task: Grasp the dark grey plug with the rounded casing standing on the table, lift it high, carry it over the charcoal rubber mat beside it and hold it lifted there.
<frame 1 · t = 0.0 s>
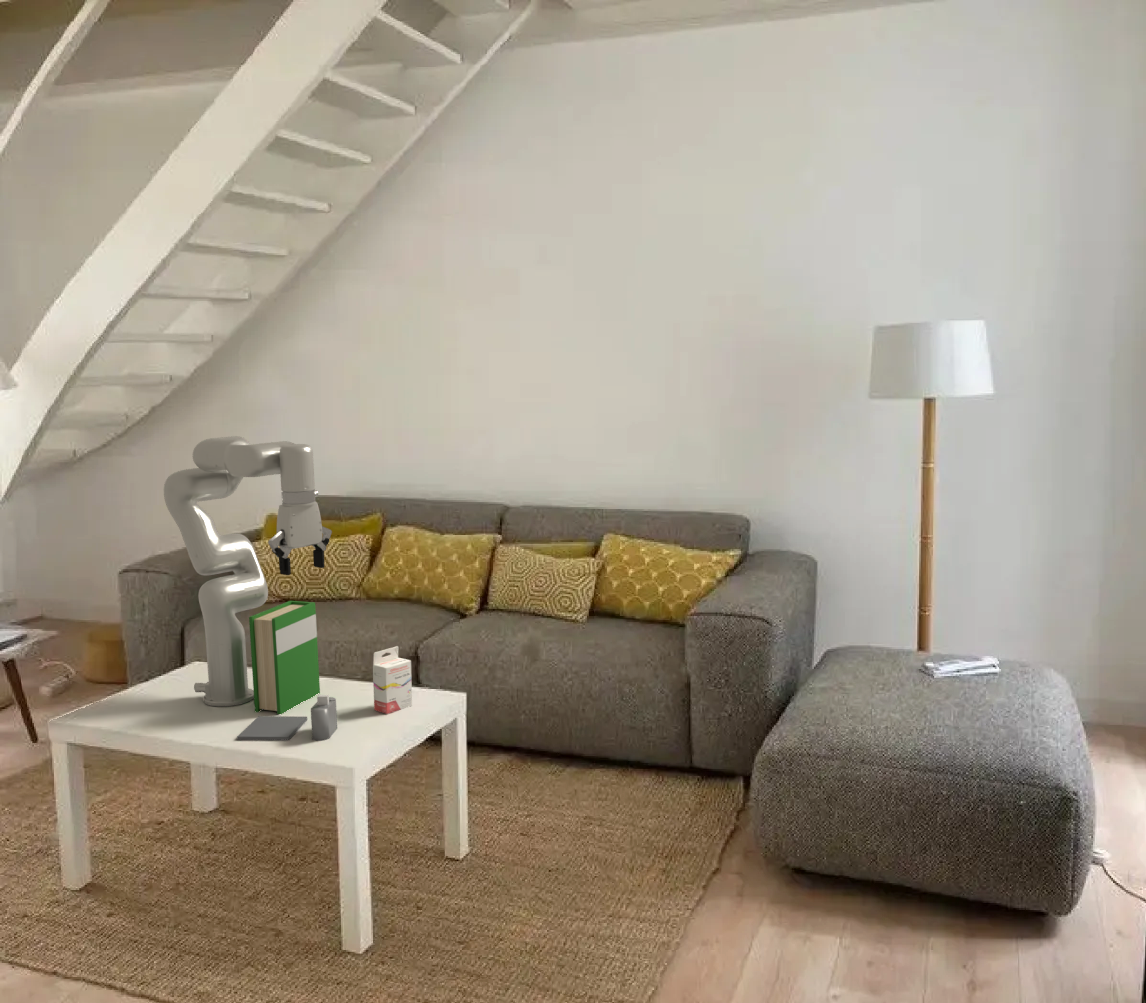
hand: (302, 570, 266), 37 cm above the table, tool pointing down, fingers open, 9 cm apart
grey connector: (324, 733, 265), on the table
ink cartridge box: (393, 709, 282), on the table
charcoal mat: (273, 729, 268), on the table
hardback book: (288, 703, 288), on the table
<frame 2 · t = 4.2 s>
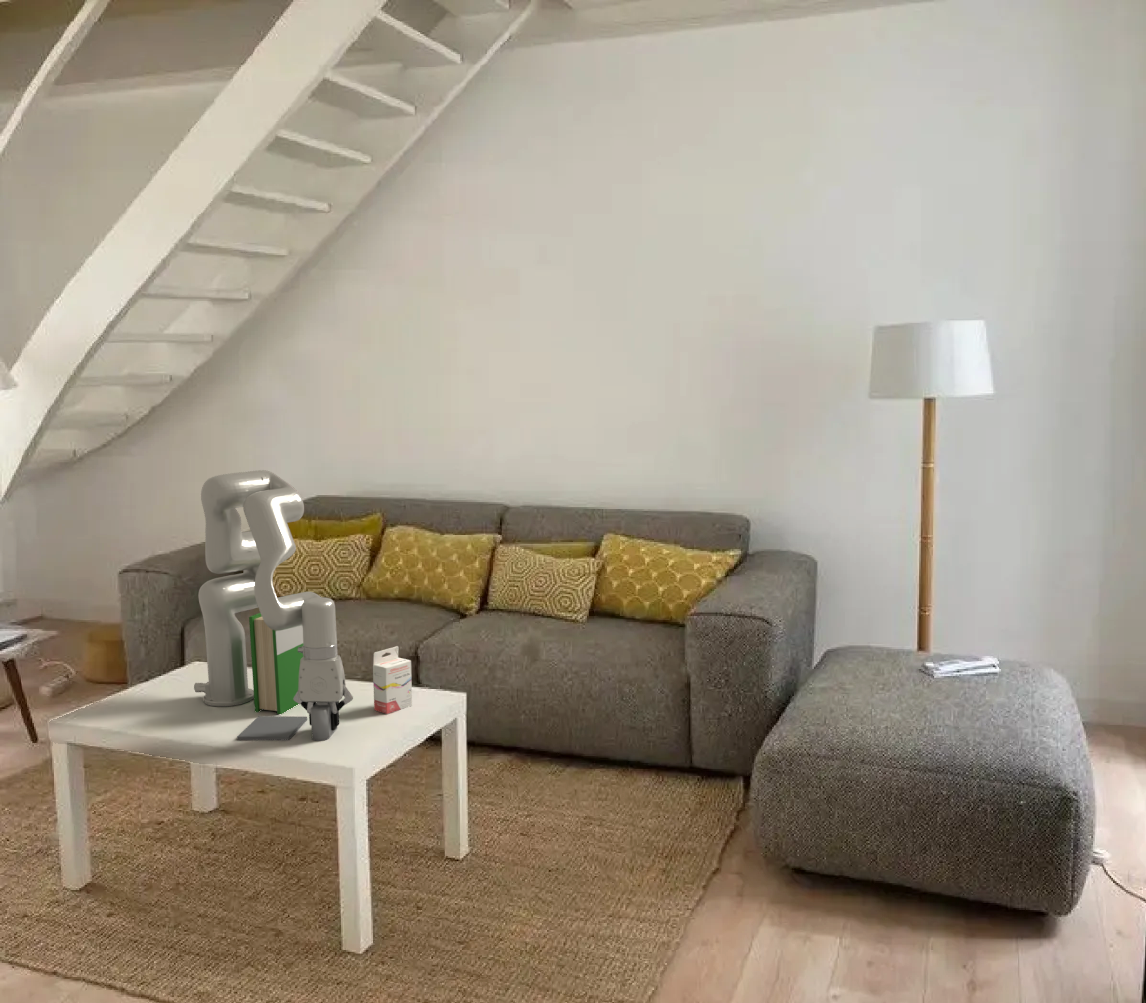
hand: (324, 727, 265), 1 cm above the table, tool pointing down, fingers closed on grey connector, 3 cm apart
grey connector: (324, 733, 265), on the table, touching gripper
everything else where it was.
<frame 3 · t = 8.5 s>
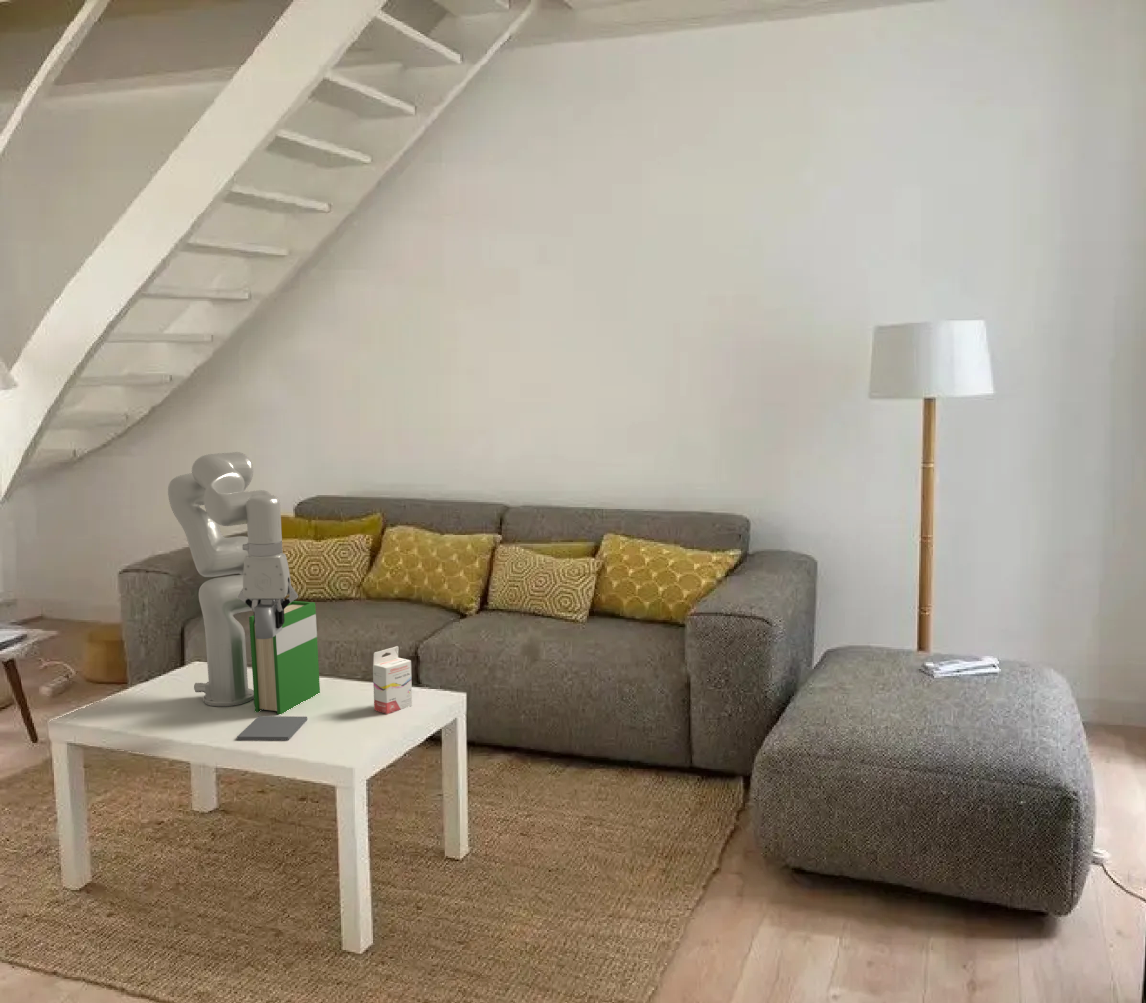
hand: (269, 626, 265), 25 cm above the table, tool pointing down, fingers closed on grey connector, 4 cm apart
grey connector: (269, 633, 264), point 23 cm above the table, touching gripper
everything else where it was.
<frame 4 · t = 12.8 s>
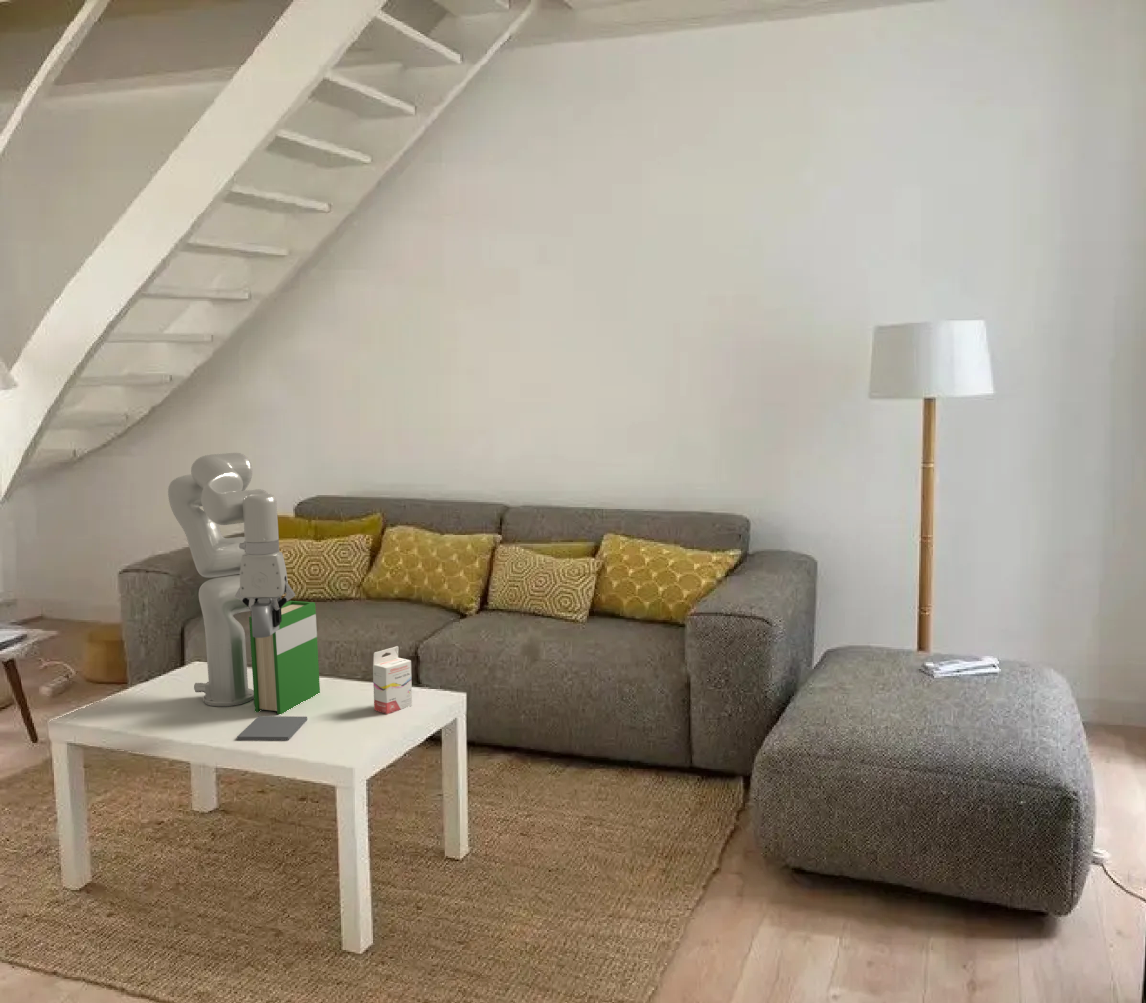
hand: (266, 624, 265), 25 cm above the table, tool pointing down, fingers closed on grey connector, 4 cm apart
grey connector: (266, 632, 264), point 24 cm above the table, touching gripper
everything else where it was.
at the end: the gripper is holding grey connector; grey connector point 23.7 cm above the table; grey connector inside the target area (0.7 cm from its centre), point 23.7 cm above the table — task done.
